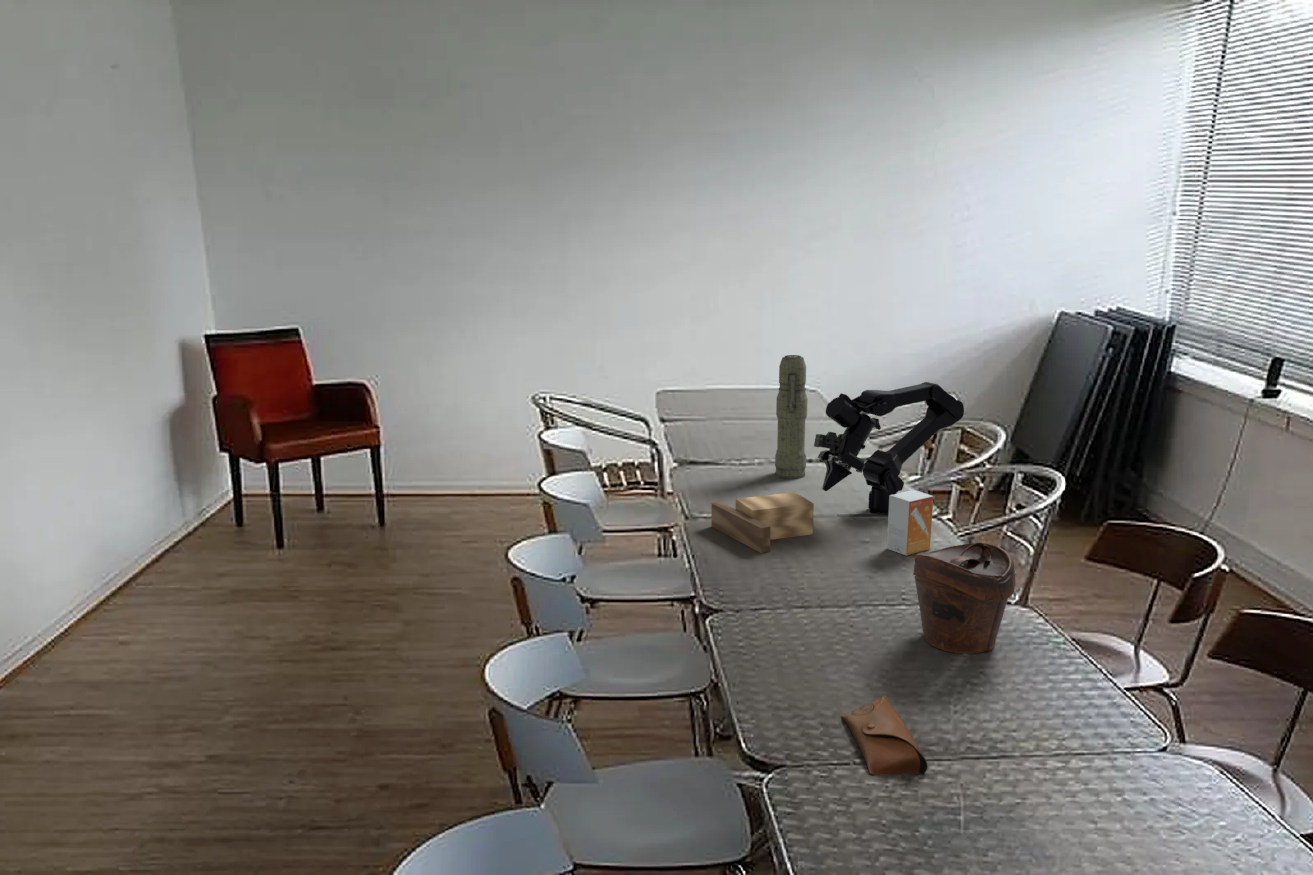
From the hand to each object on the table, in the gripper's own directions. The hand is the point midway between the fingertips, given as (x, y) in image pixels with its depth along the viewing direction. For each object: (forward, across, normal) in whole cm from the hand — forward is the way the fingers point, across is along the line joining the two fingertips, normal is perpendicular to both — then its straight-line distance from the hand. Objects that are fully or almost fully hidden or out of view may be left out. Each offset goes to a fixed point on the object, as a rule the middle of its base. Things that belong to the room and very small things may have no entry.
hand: (824, 490), depth 252 cm
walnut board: (+21, +6, -14) cm, 26 cm away
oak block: (+16, +2, -7) cm, 17 cm away
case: (+18, +66, +15) cm, 71 cm away
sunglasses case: (+40, +97, -4) cm, 105 cm away
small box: (+4, +20, +18) cm, 27 cm away
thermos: (-4, -45, +3) cm, 45 cm away
